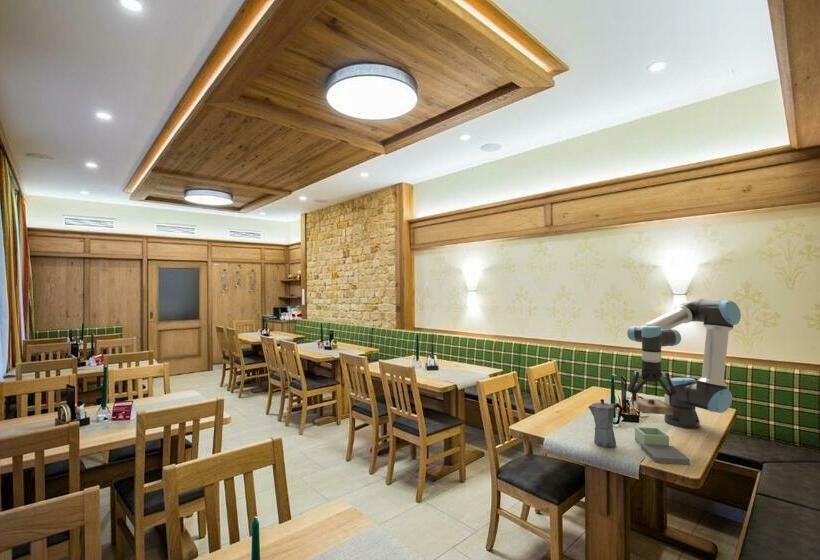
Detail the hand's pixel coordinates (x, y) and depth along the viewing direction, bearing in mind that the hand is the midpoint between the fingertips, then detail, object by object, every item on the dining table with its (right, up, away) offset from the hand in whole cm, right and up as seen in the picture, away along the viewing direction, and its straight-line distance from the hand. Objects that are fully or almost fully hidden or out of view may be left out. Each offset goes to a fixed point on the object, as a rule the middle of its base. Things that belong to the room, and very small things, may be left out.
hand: (651, 408), depth 179 cm
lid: (0, 0, 0) cm, 0 cm away
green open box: (0, -16, 0) cm, 16 cm away
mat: (-2, -16, -12) cm, 20 cm away
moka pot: (-20, -16, +1) cm, 26 cm away
